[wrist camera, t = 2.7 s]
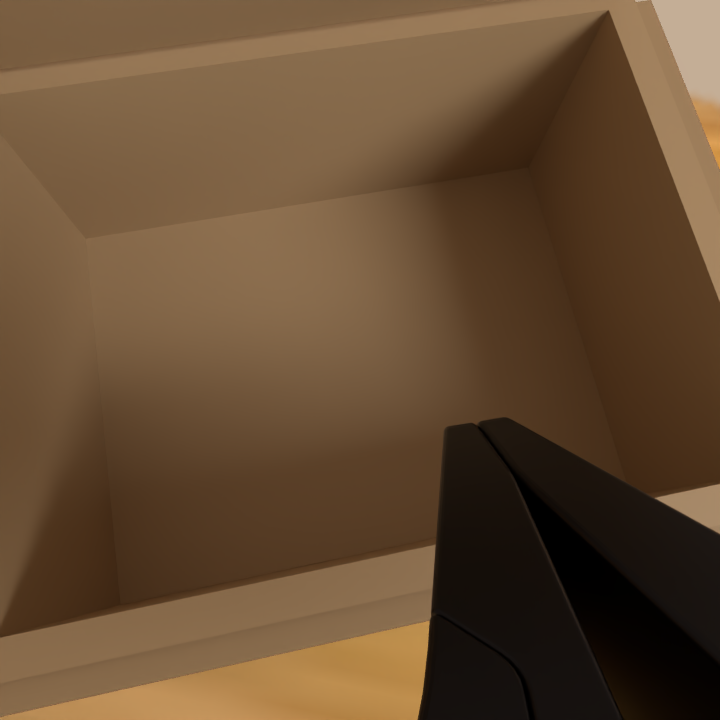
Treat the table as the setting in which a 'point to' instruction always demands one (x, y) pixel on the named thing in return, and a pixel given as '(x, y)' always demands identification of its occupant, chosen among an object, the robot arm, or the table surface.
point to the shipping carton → (329, 318)
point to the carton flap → (170, 23)
